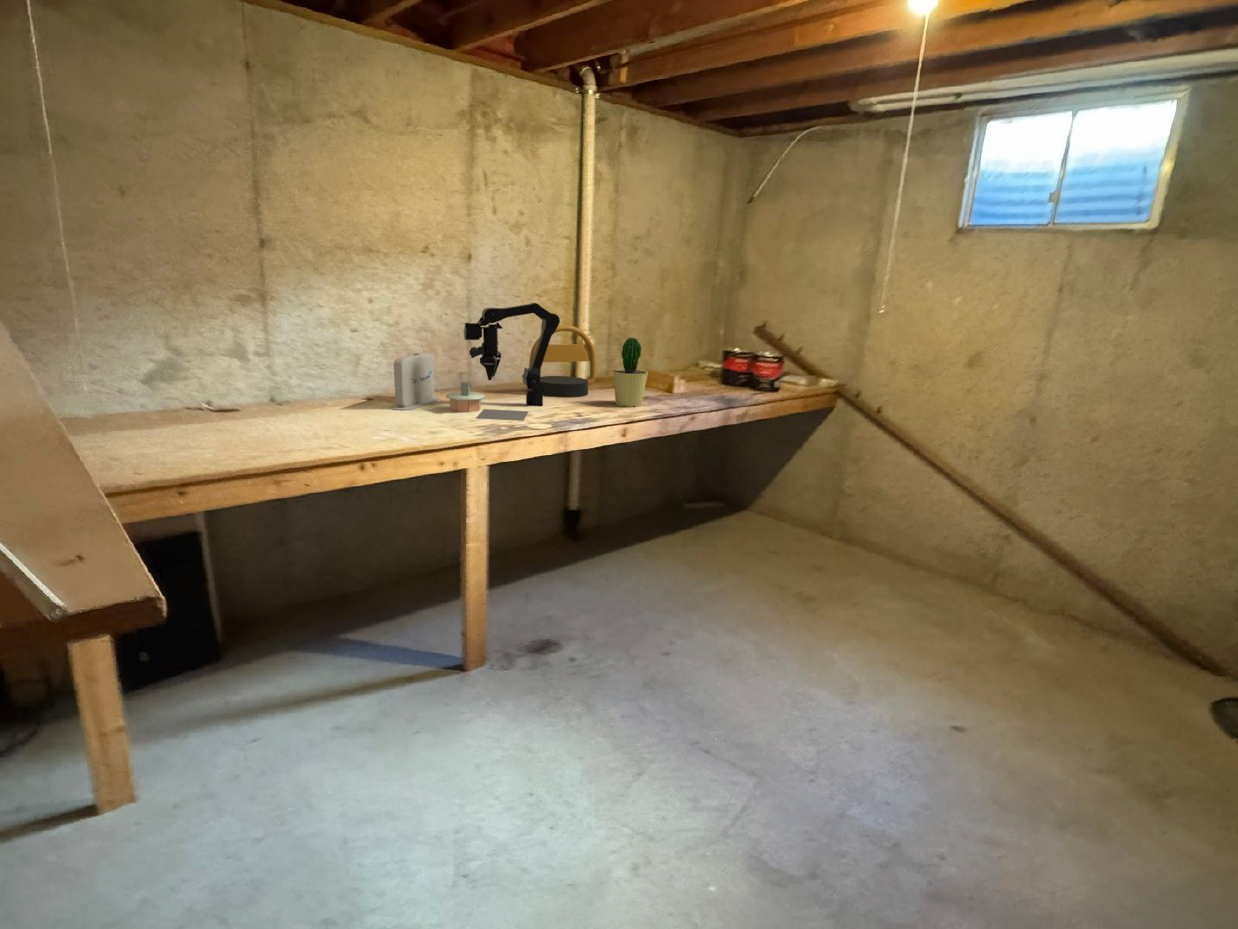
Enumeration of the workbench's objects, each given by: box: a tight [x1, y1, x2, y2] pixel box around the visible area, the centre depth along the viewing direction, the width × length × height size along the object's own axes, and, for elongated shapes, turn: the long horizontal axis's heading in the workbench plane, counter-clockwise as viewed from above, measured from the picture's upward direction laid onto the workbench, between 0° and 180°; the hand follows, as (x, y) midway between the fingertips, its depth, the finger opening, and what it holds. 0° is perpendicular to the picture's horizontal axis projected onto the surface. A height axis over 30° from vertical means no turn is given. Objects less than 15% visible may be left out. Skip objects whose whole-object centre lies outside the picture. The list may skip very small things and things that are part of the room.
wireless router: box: [389, 351, 441, 411], centre depth 279 cm, size 31×10×20 cm, turn 168°
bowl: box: [449, 398, 482, 413], centre depth 273 cm, size 11×11×6 cm
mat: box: [475, 408, 530, 422], centre depth 267 cm, size 18×18×1 cm
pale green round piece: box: [445, 381, 486, 400], centre depth 271 cm, size 15×15×6 cm
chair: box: [528, 324, 597, 399], centre depth 320 cm, size 25×35×32 cm
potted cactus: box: [612, 337, 649, 407], centre depth 300 cm, size 15×15×30 cm
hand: (491, 378), depth 281 cm, fingers open, 9 cm apart
